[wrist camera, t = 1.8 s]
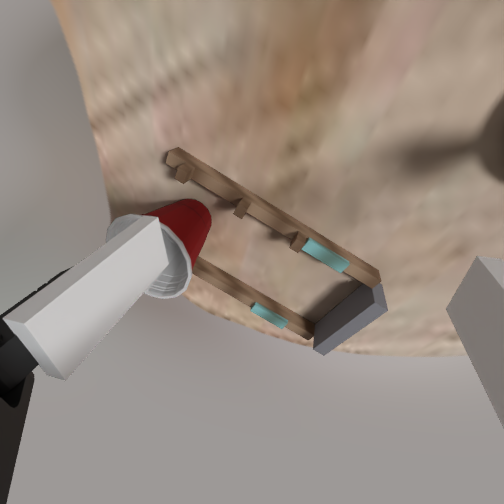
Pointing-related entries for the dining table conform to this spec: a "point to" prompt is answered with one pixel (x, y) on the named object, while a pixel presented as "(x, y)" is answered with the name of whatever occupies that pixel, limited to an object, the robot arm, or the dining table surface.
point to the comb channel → (280, 222)
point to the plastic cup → (173, 243)
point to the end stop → (349, 317)
